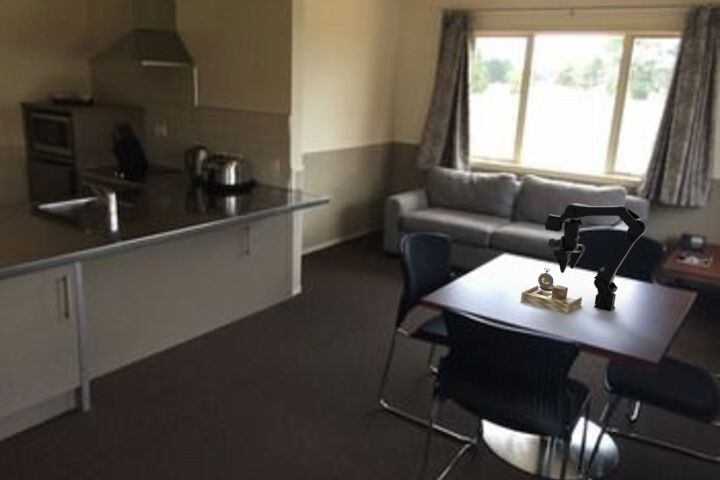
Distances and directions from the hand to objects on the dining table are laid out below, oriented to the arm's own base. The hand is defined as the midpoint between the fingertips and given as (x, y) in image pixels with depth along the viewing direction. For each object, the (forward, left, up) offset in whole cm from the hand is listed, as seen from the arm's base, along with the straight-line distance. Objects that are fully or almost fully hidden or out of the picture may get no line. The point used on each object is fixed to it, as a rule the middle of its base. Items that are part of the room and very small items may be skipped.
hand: (567, 270), depth 252 cm
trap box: (0, +11, -12) cm, 16 cm away
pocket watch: (+10, -6, -12) cm, 17 cm away
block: (-1, +8, -10) cm, 12 cm away
